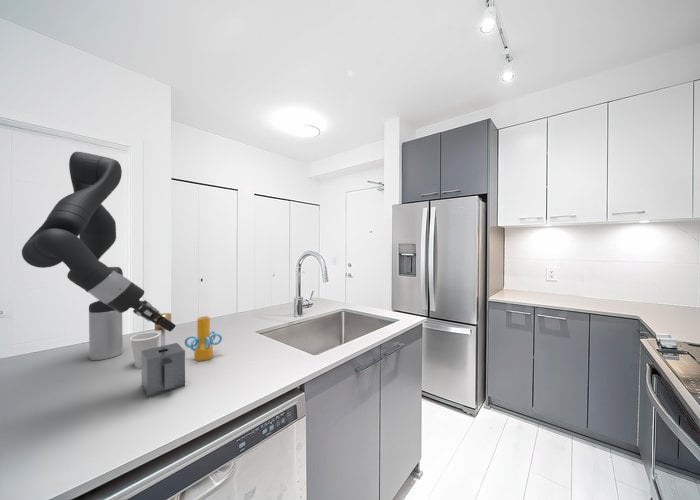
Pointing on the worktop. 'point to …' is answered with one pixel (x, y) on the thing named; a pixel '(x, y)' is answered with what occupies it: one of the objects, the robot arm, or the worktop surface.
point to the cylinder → (203, 340)
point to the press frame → (163, 369)
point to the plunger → (162, 330)
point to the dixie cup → (143, 344)
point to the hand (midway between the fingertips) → (170, 326)
